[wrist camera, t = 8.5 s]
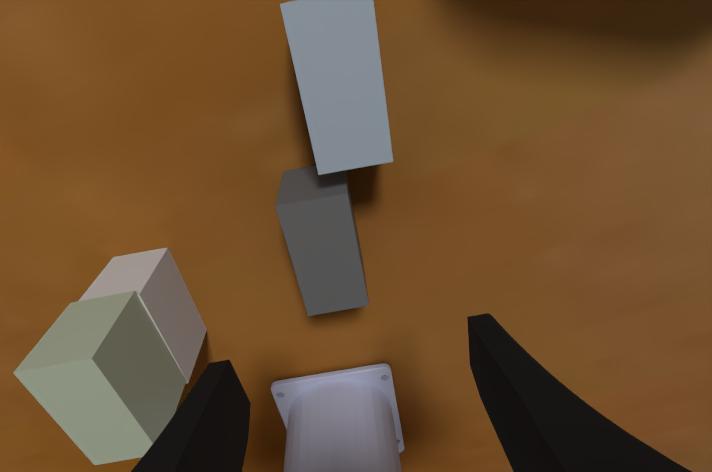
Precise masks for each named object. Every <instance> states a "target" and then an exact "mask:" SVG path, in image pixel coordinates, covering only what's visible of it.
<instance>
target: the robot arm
mask: <svg viewBox="0 0 712 472" xmlns="http://www.w3.org/2000/svg"><path fill="white" fill-rule="evenodd" d="M468 335H469V353H470V366H471V369H472V372H473V376H474V379H475V382H476V385H477V388H478V391H479V394H480V397H481V400H482V402H483V404H484V406H485V409H486V411H487V413H488V415H489V418H490V420H491V422H492V424H493V427H494V429H495V431H496V433H497V436H498V438H499V440H500V442H501V444H502V447H503V449H504V451H505V453H506V456H507V458H508V460H509V462H510V465H511V467H512V469H513V471H514V472H691V471H690V470H688V469H686V468H684V467H683V466H681V465H679V464H677V463H676V462H674V461H672V460H670V459H669V458H667V457H666V456H664V455H662V454H661V453H659V452H658V451H656V450H654V449H653V448H651V447H650V446H648V445H646V444H645V443H643V442H642V441H640V440H638V439H637V438H635V437H634V436H632V435H630V434H629V433H627V432H626V431H625V430H623V429H622V428H620V427H619V426H617V425H616V424H614V423H613V422H612V421H610V420H609V419H607V418H606V417H604V416H603V415H602V414H600V413H599V412H598V411H596V410H595V409H593V408H592V407H591V406H589V405H588V404H587V403H585V402H584V401H583V400H582V399H580V398H579V397H578V396H577V395H575V394H574V393H573V392H571V391H570V390H569V389H568V388H567V387H565V386H564V385H563V384H562V383H561V382H559V381H558V380H557V379H556V378H555V377H554V376H552V375H551V374H550V373H549V372H548V371H547V370H546V369H544V368H543V367H542V366H541V365H540V364H539V363H538V362H537V361H536V360H535V359H534V358H533V357H531V356H530V355H529V354H528V353H527V352H526V351H525V350H524V349H523V348H522V347H521V346H520V345H519V344H518V343H517V342H516V341H515V340H514V339H513V338H512V337H511V336H510V335H509V334H508V333H507V332H506V331H505V330H504V329H503V327H502V326H501V325H500V324H499V323H498V322H497V321H496V320H495V319H494V318H493V316H491V315H490V314H482V315H476V316H471V317H468ZM384 375H386V376H384ZM271 392H272V395H273V397H274V400H275V402H276V405H277V407H278V409H279V412H280V414H281V417H282V419H283V422H284V424H285V427H286V429H287V437H286V448H285V460H284V471H283V472H402V469H401V463H400V457H399V453H400V452H402V451H403V450H404V448H405V447H404V442H403V436H402V430H401V425H400V419H399V413H398V407H397V402H396V396H395V390H394V385H393V379H392V373H391V367H390V366H389V365H388V364H385V363H382V364H375V365H369V366H363V367H357V368H351V369H345V370H339V371H333V372H327V373H321V374H315V375H309V376H303V377H297V378H291V379H285V380H279V381H275V382H273V383H272V385H271ZM249 419H250V402H249V399H248V397H247V395H246V393H245V391H244V389H243V387H242V385H241V383H240V381H239V379H238V377H237V375H236V373H235V370H234V368H233V366H232V364H231V362H230V360H225V361H220V362H214V363H210V364H209V365H208V366H207V368H206V369H205V371H204V372H203V374H202V375H201V376H200V378H199V379H198V381H197V382H196V384H195V385H194V387H193V388H192V390H191V391H190V393H189V394H188V396H187V397H186V398H185V400H184V401H183V403H182V404H181V406H180V407H179V409H178V410H177V411H176V413H175V414H174V416H173V417H172V418H171V420H170V421H169V423H168V424H167V425H166V427H165V428H164V430H163V431H162V432H161V434H160V435H159V437H158V438H157V439H156V440H155V442H154V443H153V444H152V446H151V447H150V448H149V450H148V451H147V452H146V453H145V455H144V456H143V457H142V459H141V460H140V461H139V463H138V464H137V465H136V466H135V467H134V469H133V470H132V471H131V472H242V467H243V462H244V457H245V452H246V446H247V441H248V432H249Z"/></svg>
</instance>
